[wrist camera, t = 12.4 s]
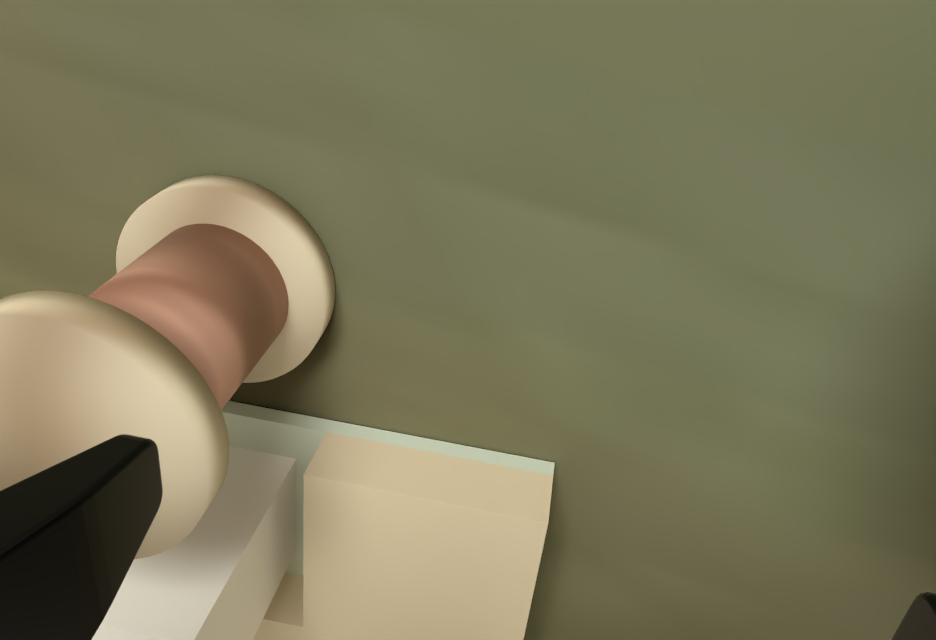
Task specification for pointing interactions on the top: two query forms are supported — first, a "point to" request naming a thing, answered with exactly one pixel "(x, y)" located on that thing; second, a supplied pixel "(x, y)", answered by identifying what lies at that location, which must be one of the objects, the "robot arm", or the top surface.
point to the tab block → (216, 562)
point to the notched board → (400, 532)
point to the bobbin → (165, 340)
